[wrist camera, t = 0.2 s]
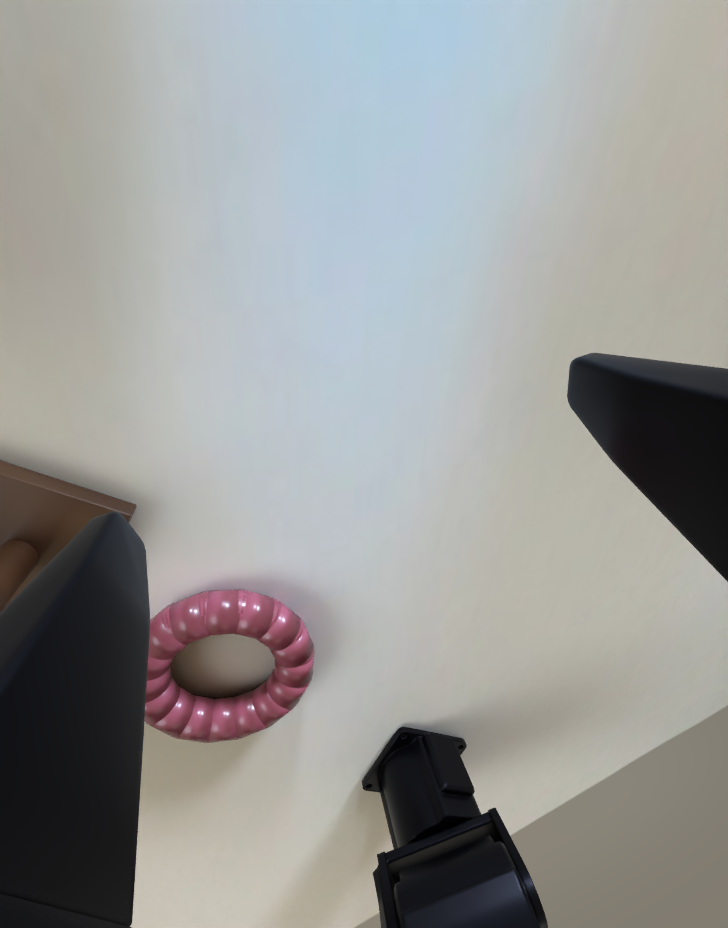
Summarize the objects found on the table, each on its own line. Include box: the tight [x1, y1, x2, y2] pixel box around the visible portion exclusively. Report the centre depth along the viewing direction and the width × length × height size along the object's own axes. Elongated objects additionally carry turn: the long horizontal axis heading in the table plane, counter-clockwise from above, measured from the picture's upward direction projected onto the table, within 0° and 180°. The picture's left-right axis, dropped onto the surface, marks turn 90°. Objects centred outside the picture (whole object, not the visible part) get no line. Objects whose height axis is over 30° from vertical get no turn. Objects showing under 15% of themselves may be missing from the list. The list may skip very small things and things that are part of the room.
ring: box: [144, 590, 314, 743], centre depth 27 cm, size 11×11×2 cm
